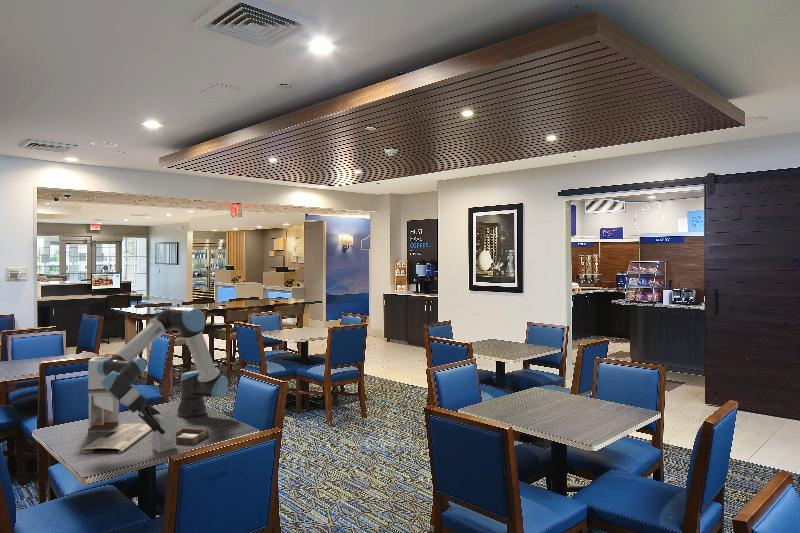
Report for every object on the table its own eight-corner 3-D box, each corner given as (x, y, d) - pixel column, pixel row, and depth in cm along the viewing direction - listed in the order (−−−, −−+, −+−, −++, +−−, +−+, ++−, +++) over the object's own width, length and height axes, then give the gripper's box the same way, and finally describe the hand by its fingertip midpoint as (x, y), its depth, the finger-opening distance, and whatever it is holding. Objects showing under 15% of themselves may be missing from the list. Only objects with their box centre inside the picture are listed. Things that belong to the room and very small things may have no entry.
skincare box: (169, 445, 252) (169, 410, 252) (177, 448, 248) (177, 413, 248) (151, 449, 246) (151, 414, 246) (158, 453, 242) (159, 417, 242)
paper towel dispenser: (87, 433, 269) (88, 360, 269) (93, 426, 279) (94, 357, 279) (113, 431, 272) (114, 359, 272) (118, 425, 282) (119, 356, 282)
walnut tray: (182, 433, 269) (182, 427, 269) (208, 435, 267) (208, 429, 267) (165, 442, 256) (165, 436, 256) (192, 444, 254) (192, 438, 254)
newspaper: (119, 429, 278) (119, 423, 278) (158, 428, 279) (158, 423, 279) (80, 454, 241) (80, 448, 241) (125, 454, 242) (126, 447, 242)
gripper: (132, 400, 254) (169, 433, 258) (120, 413, 232) (161, 448, 236) (145, 388, 255) (181, 420, 259) (134, 400, 234) (174, 435, 238)
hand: (171, 434), depth 248 cm, fingers closed on skincare box, 10 cm apart
